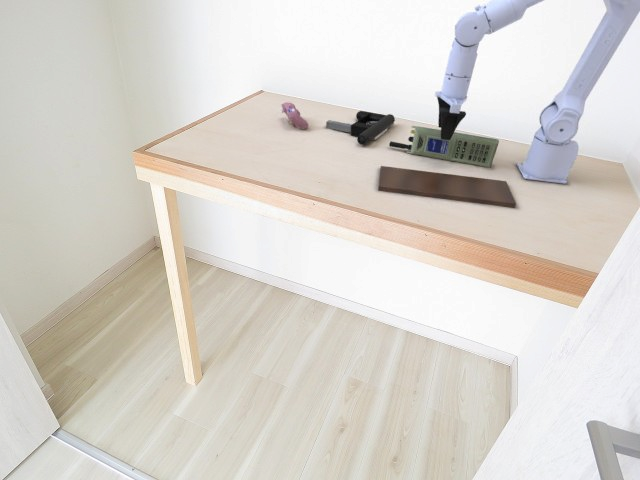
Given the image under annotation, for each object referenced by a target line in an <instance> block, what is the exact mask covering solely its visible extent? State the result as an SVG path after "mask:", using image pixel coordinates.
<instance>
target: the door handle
mask: <svg viewBox="0 0 640 480" xmlns="http://www.w3.org/2000/svg"><path fill="white" fill-rule="evenodd" d="M355 117H356V119H357V121H355V122H354V123H352V124H351V123H347V122H341V121H335V120H331V119H328V120H326V122H325V127H326V128H327V129H331V130H336V131H340V132H344V133H345V132H346V133H350V136H351V137H352V136H353V137H356V138H357V139H356V141H357V143H358V144H359V145H364V146H365V145H367V144H368V143H370V142H372V141H376V140H377V139H379V138H380V137H381V136H382V135H384V134H385V133H386V132H387V131H388V128H389V127H391V126H392V125H394V124H395V122H396V118H395V116H394V115H393V114H391V113H389V114H384V113H383V114H382V113H377V112H370V111H366V110H359V111H358V112H357V113H356V114H355ZM368 123H369V124H368Z"/></svg>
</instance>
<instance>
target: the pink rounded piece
mask: <svg viewBox="0 0 640 480" xmlns="http://www.w3.org/2000/svg"><path fill="white" fill-rule="evenodd" d="M280 112H281V113H282V114H285V115H286V117H287V119H288V121H289V125H292V127H297V128H299V129H301V130H308V128H309V123H308V121H307V120H306V119H304V118H303V117H302V116H301V111H299V109H297V108H296V105H295V104H294V103H293V102H290V101H289V100H288V101H287V102H286V101H285V102H284V103H283V102H282V104H281V110H280Z"/></svg>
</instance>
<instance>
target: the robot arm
mask: <svg viewBox="0 0 640 480" xmlns="http://www.w3.org/2000/svg"><path fill="white" fill-rule="evenodd" d="M542 2H545V0H491V1H488V2H486V3H485V4H483V5H480V4H477V5H476V6H474V11H468V12H466V13H463V14H462V15H461V16H460V17H459V18H458V20H457V22H456V24H455V25H454V39H453V40H452V43H451V47H452V48H451V49H450V51H449V55H448V59H447V63H446V67H445V73H444V76H443V81H442V86H441V90H440V91H438V90H437V91H435V92H434V96H435V97H436V99H437V103H438V123H437V124H438V129H439V128H440V130H441V139H443V140H450V139H451V137H452V136H453V134H454V132H455V131H456V129H457V128H458V126H459V125H460V123H461V122H462V120H463V119H465V118H466V116H467V113H466V111H464V110H461V109H462V106H463V104H464V103H466V101H467V100H468V93H469V88H470V85H471V81H472V78H473V73H474V69H475V65H476V61H477V57H478V50H479V49H478V48H479V46H480V42H481V41H482V40H483V38H484V37H485V36H486V35H492V34H494V33H496V32H498V31H500V30H502V29H504V28H506V27H507V26H509V25H512V24H515V22H517V21H520V20H521V19H522V18H523V17H524V15H525V13H526V11H527V10H528V9H529V8H531V7H533V6H536V5H538V4H539V3H542ZM603 3H604V6H605V9H606V11H605V13H604V14H603V17H602V18H601V20H600V21H599V23H598V25H597V27H596V29H595V31H594V32H593V34H592V36H591V38H590V39H589V41H588V43H587V45H586V46H585V49H584V50H583V52H582V54H581V55H580V57H579V59H578V61H577V63H576V64H575V66H574V67H573V70H572V72H570V75H569V76H568V78H567V80H566V82H565V84H564V86H563V88H562V89H561V90H560V91H559V92H558V93H556V95H554V98H553V99H552V101H551V102H550V103H549V104H548V105H546V106H545V107H544V108H543V109H542V111H540V114H539V116H538V117H539V119H538V120H539V124H540V127H539V129H537V130H536V131H535V133H534V136H533V138H532V141H531V143H530V146H529V149H528V151H527V154H526V157H525V158H524V161H523V162H517V163H516V166H517V168H518V169H519V171H520V173H521V175H522V177H523V179H525V180H529V181H537V182H538V181H539V182H547V183H548V182H549V183H556V184H564V185H566V184H567V183H568V181H567V179H568V178H569V175H570V174H571V170H572V168H573V166H574V165H575V162H576V160H577V157H578V154H579V144H578V141H575V140H572V139H574V138H575V136H576V135H577V134H578V131H579V124H580V123H579V122H580V120H581V118H582V117H583V115H584V110H585V106H586V101H587V99H588V98H589V96H590V95H591V92H592V91H593V89H594V87H595V86H596V84H597V82H599V79H600V78H601V76H602V74H603V73H604V71H605V69H606V68H607V66H608V65H609V63H610V61H611V60H612V58H613V56H614V55H615V53H616V52H617V49H618V48H619V46H620V45H621V43H622V41H623V40H624V38H625V36H626V35H627V33H628V32H629V30H630V28H631V27H632V25H633V24H634V21H635V20H636V18H637V17H638V15H639V13H640V0H603Z"/></svg>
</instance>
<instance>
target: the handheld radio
mask: <svg viewBox="0 0 640 480" xmlns="http://www.w3.org/2000/svg"><path fill="white" fill-rule="evenodd" d="M411 128H412V129H411V130H410V134H413V136H409V137H408V138H407V140H408V142H410V143H412V144H406V143H401V142H397V141H391V140H390V142H389V143H388V145H389V147H390V148H397V149H403V150H405V149H406V154H411V155H416V156H422V157H425V158H432V159H438V160H444V161H449V162H454V163H462V164H466V165H473V166H478V167H484V168H490V169H491V168H492V165H493V162H494V159H495V155H496V153H497V150H498V146H499V143H500V139H497V138H494V137H493V138H492V137H486V136H480V135H474V134H468V133H462V132H455V131H454V134H453V136H452V137H451V139H450V140H443V139H441V129H439V128H438V129H437V128H431V127H424V126H420V125H411Z"/></svg>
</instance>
